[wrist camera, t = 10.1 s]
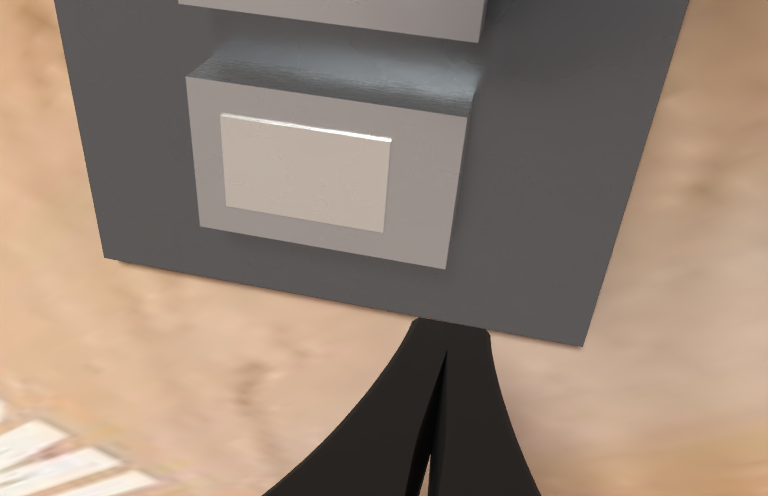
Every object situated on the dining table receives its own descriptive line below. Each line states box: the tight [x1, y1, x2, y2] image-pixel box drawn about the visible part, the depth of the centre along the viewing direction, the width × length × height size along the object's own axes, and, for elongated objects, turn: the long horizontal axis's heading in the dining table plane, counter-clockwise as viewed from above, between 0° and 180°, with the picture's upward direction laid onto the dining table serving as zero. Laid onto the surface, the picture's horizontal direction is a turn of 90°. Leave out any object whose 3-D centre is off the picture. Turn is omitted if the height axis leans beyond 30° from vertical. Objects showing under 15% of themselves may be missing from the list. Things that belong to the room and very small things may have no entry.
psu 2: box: [186, 57, 474, 269], centre depth 21 cm, size 8×5×2 cm, turn 86°
